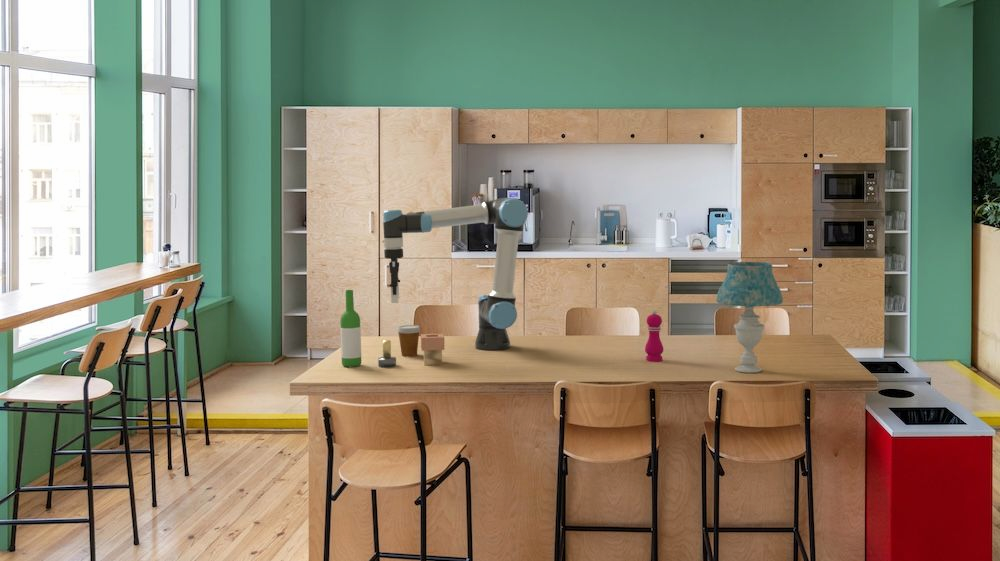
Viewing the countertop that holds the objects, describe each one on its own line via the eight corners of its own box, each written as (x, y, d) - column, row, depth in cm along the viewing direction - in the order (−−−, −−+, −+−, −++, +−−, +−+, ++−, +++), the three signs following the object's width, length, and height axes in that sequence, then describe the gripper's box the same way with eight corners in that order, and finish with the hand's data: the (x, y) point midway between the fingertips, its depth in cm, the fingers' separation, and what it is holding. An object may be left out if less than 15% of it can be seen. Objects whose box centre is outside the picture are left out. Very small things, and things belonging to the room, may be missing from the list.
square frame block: (443, 345, 397) (443, 333, 396) (444, 349, 388) (444, 337, 387) (420, 346, 396) (420, 334, 395) (421, 350, 387) (421, 338, 387)
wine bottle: (345, 368, 385) (342, 291, 382) (339, 365, 392) (336, 289, 389) (364, 366, 389) (362, 290, 385) (357, 363, 396) (355, 288, 392)
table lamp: (793, 375, 359) (795, 265, 355) (732, 379, 354) (733, 268, 350) (763, 363, 382) (764, 260, 378) (705, 366, 377) (706, 262, 373)
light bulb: (396, 363, 393) (395, 338, 392) (396, 367, 386) (395, 341, 385) (378, 364, 392) (377, 339, 391) (378, 367, 385) (377, 342, 384)
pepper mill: (664, 359, 393) (665, 309, 391) (661, 362, 386) (661, 312, 384) (646, 358, 395) (646, 308, 393) (643, 361, 389) (643, 311, 387)
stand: (441, 361, 396) (441, 346, 396) (442, 364, 390) (441, 349, 389) (423, 361, 396) (423, 347, 395) (424, 365, 389) (424, 350, 388)
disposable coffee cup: (417, 357, 405) (416, 328, 404) (394, 357, 407) (394, 328, 406) (423, 353, 414) (422, 325, 413) (401, 352, 416) (401, 324, 415)
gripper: (385, 246, 410) (387, 297, 412) (383, 251, 385) (384, 305, 387) (403, 245, 410) (405, 296, 413) (402, 250, 385) (404, 304, 388)
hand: (395, 300), depth 400 cm, fingers open, 13 cm apart
